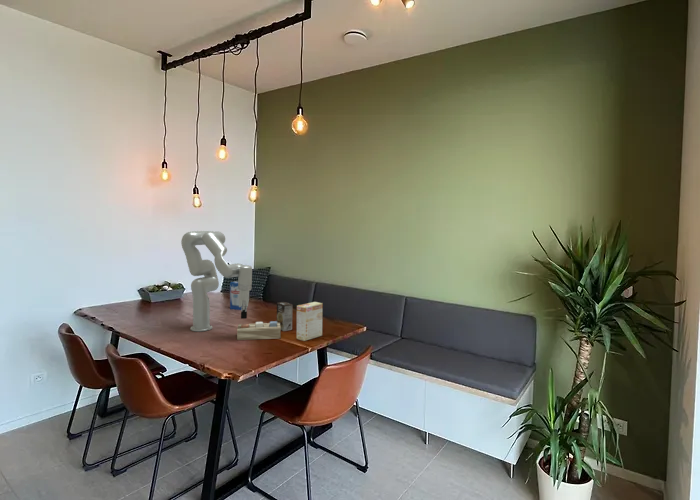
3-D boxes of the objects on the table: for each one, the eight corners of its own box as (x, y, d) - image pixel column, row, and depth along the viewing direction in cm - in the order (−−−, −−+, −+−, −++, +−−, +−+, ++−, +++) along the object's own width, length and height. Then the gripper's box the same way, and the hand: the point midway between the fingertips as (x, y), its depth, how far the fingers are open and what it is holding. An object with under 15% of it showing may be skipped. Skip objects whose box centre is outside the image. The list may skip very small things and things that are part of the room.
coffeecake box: (314, 333, 243) (314, 301, 242) (322, 335, 239) (323, 303, 237) (295, 338, 232) (296, 305, 230) (304, 341, 227) (304, 307, 226)
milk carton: (229, 309, 302) (229, 282, 301) (234, 307, 308) (234, 281, 307) (241, 310, 300) (241, 283, 298) (246, 308, 306) (246, 282, 304)
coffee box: (276, 328, 253) (276, 302, 252) (285, 326, 257) (285, 301, 256) (283, 331, 246) (283, 305, 245) (292, 329, 250) (292, 304, 249)
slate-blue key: (269, 328, 238) (269, 321, 238) (276, 327, 239) (276, 321, 238) (269, 330, 234) (269, 323, 234) (276, 329, 235) (276, 323, 235)
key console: (238, 334, 239) (238, 324, 238) (279, 332, 243) (279, 322, 243) (237, 340, 227) (237, 329, 226) (280, 338, 232) (280, 328, 231)
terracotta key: (241, 330, 235) (241, 323, 235) (248, 330, 236) (248, 323, 235) (241, 332, 231) (241, 325, 231) (248, 332, 232) (248, 325, 231)
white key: (255, 328, 236) (255, 321, 236) (262, 328, 237) (262, 321, 237) (255, 330, 233) (255, 323, 232) (262, 330, 233) (262, 323, 233)
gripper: (239, 284, 238) (238, 314, 240) (237, 289, 223) (236, 321, 225) (252, 284, 239) (251, 314, 241) (251, 289, 225) (249, 321, 227)
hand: (243, 318), depth 233 cm, fingers closed
